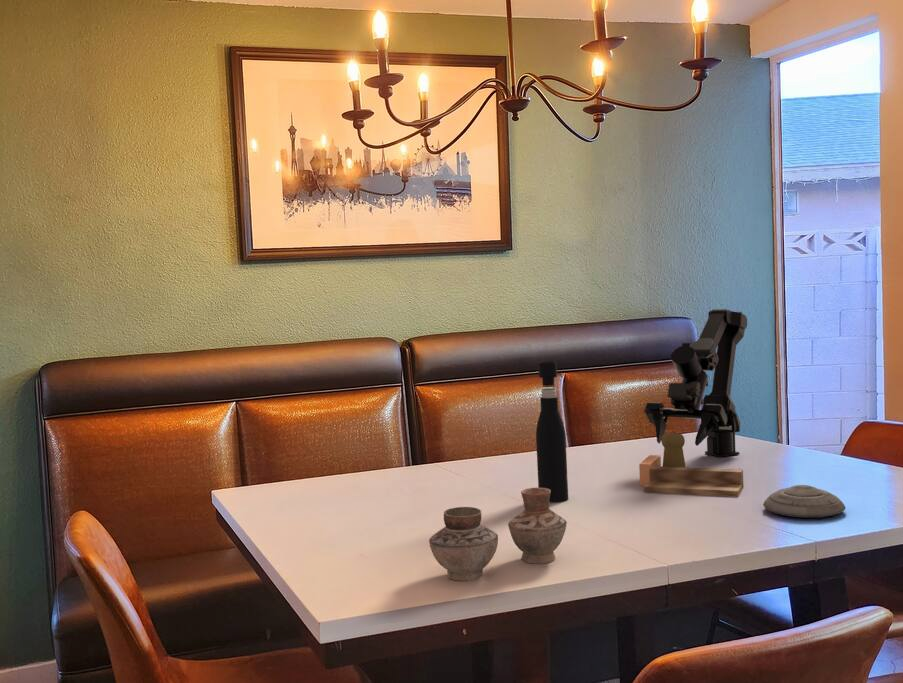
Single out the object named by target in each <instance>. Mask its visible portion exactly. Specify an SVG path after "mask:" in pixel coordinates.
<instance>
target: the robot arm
mask: <svg viewBox="0 0 903 683" xmlns="http://www.w3.org/2000/svg"><path fill="white" fill-rule="evenodd" d="M707 316H708V317H707V320H706V322H705V324H704V327H703V329H702V331H701V333H700V335H699V337H698V339H697V340H696V341H694V342H692V343H691V342H682V345H681V346H679V347H677V348H675V349H674V350H672V352H671V354H670V359H671V362H672V364H673V366H674V368H675V370H676V372H677V374H678V376H679V377H680V378H682V379H681V382H670V383H668V388H667V398H670V399H671V400H670V404H671V406H673V408H672V407H665V405H664V403H663V402H662V401H661V402H659V401H657V402H655V401H654V402H653V401H647V403H646V404H645V405H644V408H643V412H644V413H645V415H646V417H647V419H648V420H649V423H651V424H652V425H653V426H655V434H656V435H655V436H656V442H657V444H660V443H662V437H663V435H664V434H665V431H666V429H667V422H668V419H669V418H683V419H692V420H693V419H694V420H695V419H696V420H697V419H699V420H700V424H699V427H698V430H697V433H696V436H695V441H694V444H695V446H698V447H699V445H700V444H701V443H702V442H703V441H704V440H705V439H706V450H707V451H704V454H706V455H710V456H713V457H719V458H722V457H728V456H729V457H730V456H737V455H740V452H739V451H737V450H736V433H740V432H741V421H740V420H741V419H740V418H739V416H738V414H737V411H736V405H735V404H734V401H733V399H732V397H731V390H732V384H733V376H734V375H733V374H734V366H735V358H736V352H737V351H736V349H737V345H738V344H739V343H740V341H741V340H742V339H744V337H745V332H746V329H747V327H748V318H747V316H746V314H743V312H742V311H732V310H730V309H727V308H716V309H715V308H714V309H712V310H709V311H708V314H707ZM707 371H708V372H713V371H714V372H713V378H712V379H713V380H712V386H711V388H712V389H711V392H710V393H709V394H705V396H704V393H705V391H706V390H705V389H706V387H709V381H708V379H709V378H708V374H707ZM703 396H704V397H703ZM701 406H702V407H701Z"/></svg>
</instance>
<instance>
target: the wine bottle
mask: <svg viewBox="0 0 903 683" xmlns="http://www.w3.org/2000/svg"><path fill="white" fill-rule="evenodd" d="M557 365H558V364H557V362H556V361H554V360H552V361H550V360H547V361H546V360H545V361H539V362H538V377H539V378H541V380H542V384H541V385H542V386H541V387H543V388H542V389H541V397H540V400H539V401H540V413H539V415H538V419H537V423H536V431H535V440H536V441H535V442H536V443H535V444H536V446H535V447H536V460H537V461H536V462H537V464H536V465H537V466H536V467H537V483H538V487H537V488H547V489H550V490H551V493H550V499H549V504H550V503H551V504H552V503H562V502H566V501H568V500H569V485H568V484H569V483H568V482H569V480H568V463H567V462H568V461H567V438H566V430H565V429H566V428H565V425H564V422H563V419H562V416H561V413H560V411H559V398H558V396H557V395H558V394H557V390H556V388H554V387H555V378H557V377H558V369H557V368H558V367H557Z"/></svg>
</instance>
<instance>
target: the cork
mask: <svg viewBox="0 0 903 683" xmlns="http://www.w3.org/2000/svg"><path fill="white" fill-rule="evenodd" d="M685 441H686V440H685V436H684V435H683V434H682V433H678V432H668V433H667V432H666V433H664V435H663V437H662V440H661V446H662V447H663V455H662V456H663V459H662V466H663V467H687V466H686V461H685V454H684V449H683V447H684V446H685V443H686V442H685Z"/></svg>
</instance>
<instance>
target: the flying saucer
mask: <svg viewBox="0 0 903 683" xmlns="http://www.w3.org/2000/svg"><path fill="white" fill-rule="evenodd" d="M762 505H763V507H764V508H765V509H766V510H768V511H770V512H772V513H775V514H778V515H782V516H786V517H793V518H806V519H809V518H812V519H813V518H814V519H815V518H826V517H831V516H832V517H833V516H835V515H838V514H840V513H842V512H844V511H845V510H846V505H845V503H844V502H843V501H842V500H841V499H840V498H839V497H838V496H837V495H835V494H833V493H831V492H830V491H827V490H825V489H821V488H817V487H815V486H812V485H807V484H796V485H793V486H790V487H786V488H782V489H778V490H777V491H775V492H772V493H771V494H770V495H769V496H767V497H766V499H765V500H764V501H763V503H762Z"/></svg>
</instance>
